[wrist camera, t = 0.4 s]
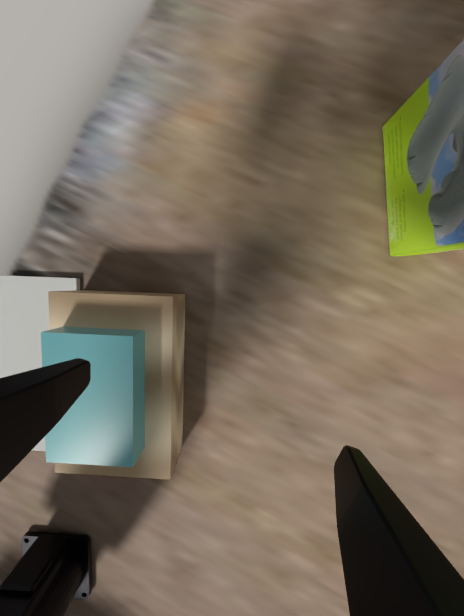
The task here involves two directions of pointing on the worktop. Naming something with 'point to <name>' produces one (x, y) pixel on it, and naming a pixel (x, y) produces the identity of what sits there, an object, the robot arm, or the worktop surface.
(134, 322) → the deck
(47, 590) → the robot arm
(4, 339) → the mat
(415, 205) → the box
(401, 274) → the worktop surface
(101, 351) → the teal rectangular block
